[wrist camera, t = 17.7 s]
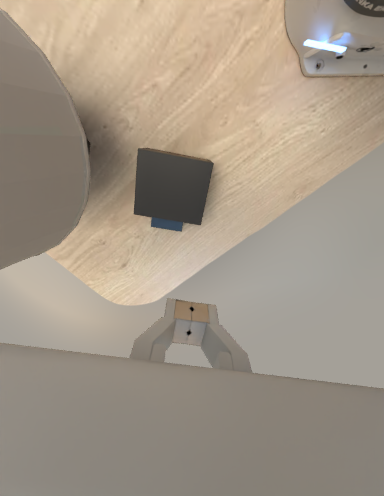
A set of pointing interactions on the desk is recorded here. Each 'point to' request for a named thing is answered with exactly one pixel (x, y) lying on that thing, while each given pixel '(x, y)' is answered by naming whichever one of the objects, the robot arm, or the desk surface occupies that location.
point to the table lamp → (37, 151)
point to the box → (166, 224)
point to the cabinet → (171, 186)
